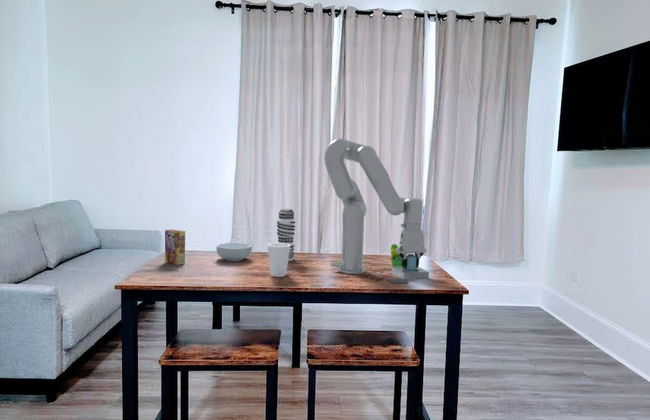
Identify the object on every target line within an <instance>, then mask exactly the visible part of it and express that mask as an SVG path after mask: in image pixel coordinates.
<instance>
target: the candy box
mask: <svg viewBox="0 0 650 420" xmlns="http://www.w3.org/2000/svg"><path fill="white" fill-rule="evenodd" d="M164 263H166V264H170V265H171V264H172V265H178V266H180V265H184V264H186V231H185V230H180V229H179V230H178V229H170V228H169V229H166V230H164Z"/></svg>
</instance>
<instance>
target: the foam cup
mask: <svg viewBox="0 0 650 420" xmlns="http://www.w3.org/2000/svg"><path fill="white" fill-rule="evenodd" d="M289 251H290V245H289V244H286V243H278V242H271V243H268V244H267V254H268V262H269V269H270V276H271V277H276V278H279V277H281V278H282V277H285V276H286V274H287V269H288V263H289V261H288V257H289Z"/></svg>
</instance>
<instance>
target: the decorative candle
mask: <svg viewBox="0 0 650 420" xmlns="http://www.w3.org/2000/svg"><path fill="white" fill-rule="evenodd" d="M276 224H277V225H276V227H277V229H276V230H277V232H276V233H277V239H278V240H277V243H286V244H289V245H290V251H289V257H288V262H290V261H293V260H294V256H295V251H294V250H295V248H294V247H295V245H294V238H295V235H296V234H295V232H294V231H295V230H296V226H295V225H294V224H296V221H295V211H294V210H293V209H292V208H281V209H280V210H279V211H278V219H277V221H276Z"/></svg>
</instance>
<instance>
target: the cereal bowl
mask: <svg viewBox="0 0 650 420" xmlns="http://www.w3.org/2000/svg"><path fill="white" fill-rule="evenodd" d="M251 253H252V245H251V244H248V243H243V242H227V243H219V244H216V254H217V255H218V257H220V258H222V259H224V260H225V261H228V262H240V261H242V260H244V259H245V258H247V257H249V256H250V255H251Z"/></svg>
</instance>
